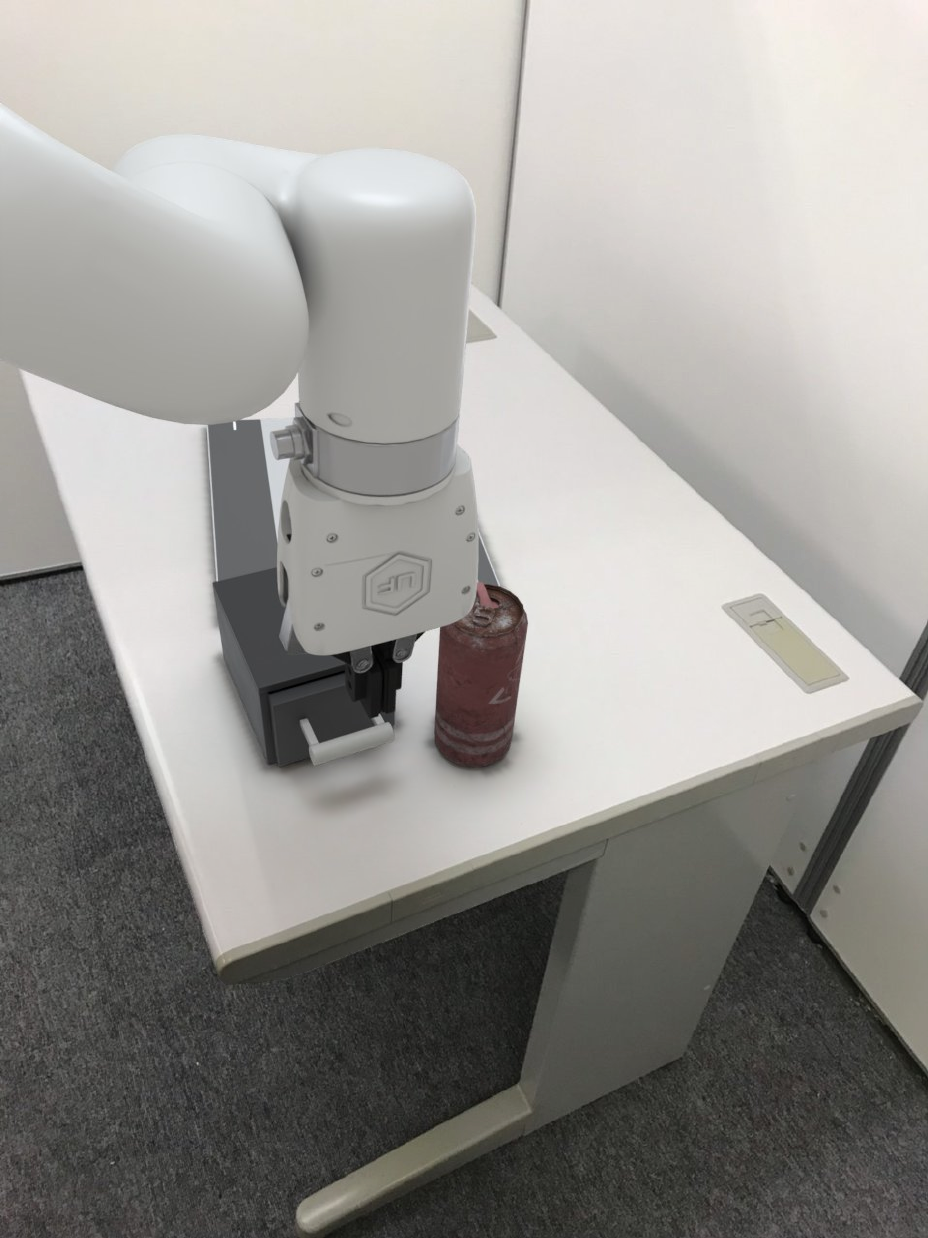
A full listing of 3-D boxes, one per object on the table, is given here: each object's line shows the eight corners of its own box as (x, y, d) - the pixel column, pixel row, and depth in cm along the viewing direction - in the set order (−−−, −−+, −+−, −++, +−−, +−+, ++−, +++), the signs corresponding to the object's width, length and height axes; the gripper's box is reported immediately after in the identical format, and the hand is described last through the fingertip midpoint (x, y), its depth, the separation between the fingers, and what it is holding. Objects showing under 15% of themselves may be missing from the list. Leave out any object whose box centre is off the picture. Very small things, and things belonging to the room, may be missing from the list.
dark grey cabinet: (394, 725, 77) (396, 649, 71) (267, 765, 73) (258, 688, 68) (340, 627, 85) (337, 551, 79) (223, 658, 81) (212, 582, 76)
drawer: (414, 768, 73) (416, 708, 68) (296, 807, 70) (290, 746, 65) (342, 637, 83) (340, 577, 78) (236, 666, 80) (228, 605, 75)
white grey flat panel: (501, 593, 89) (503, 583, 89) (219, 623, 84) (218, 613, 83) (432, 414, 112) (433, 406, 111) (207, 429, 107) (206, 420, 106)
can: (492, 702, 79) (507, 570, 70) (523, 759, 75) (543, 627, 66) (422, 719, 78) (428, 585, 68) (449, 779, 73) (459, 645, 64)
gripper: (248, 510, 41) (271, 782, 53) (552, 450, 47) (510, 709, 59) (203, 422, 46) (233, 690, 58) (483, 377, 52) (457, 630, 64)
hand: (373, 699), depth 59 cm, fingers closed
